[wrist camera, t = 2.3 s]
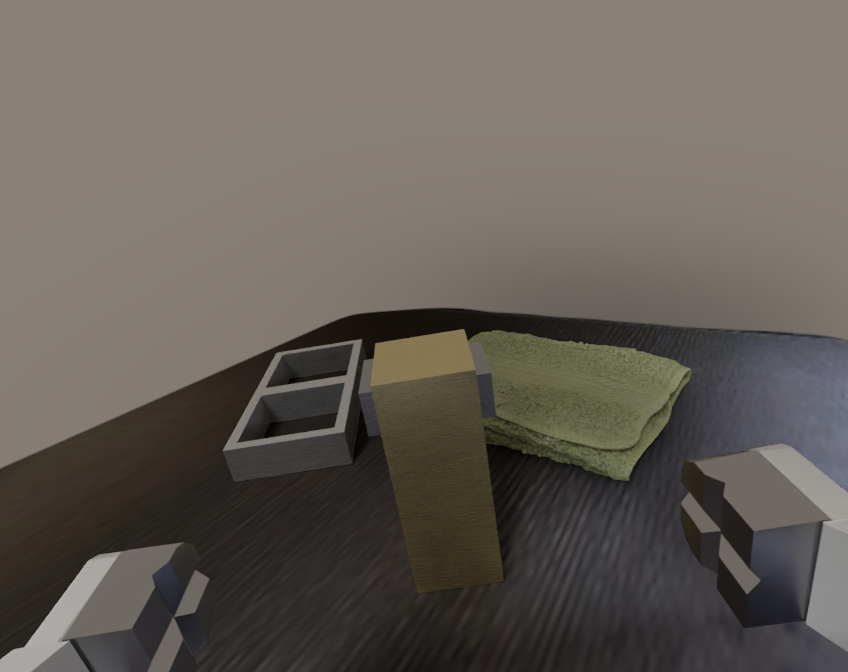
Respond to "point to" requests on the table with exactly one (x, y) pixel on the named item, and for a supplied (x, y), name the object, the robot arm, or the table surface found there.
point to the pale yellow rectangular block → (437, 454)
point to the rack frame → (300, 414)
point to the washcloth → (578, 400)
